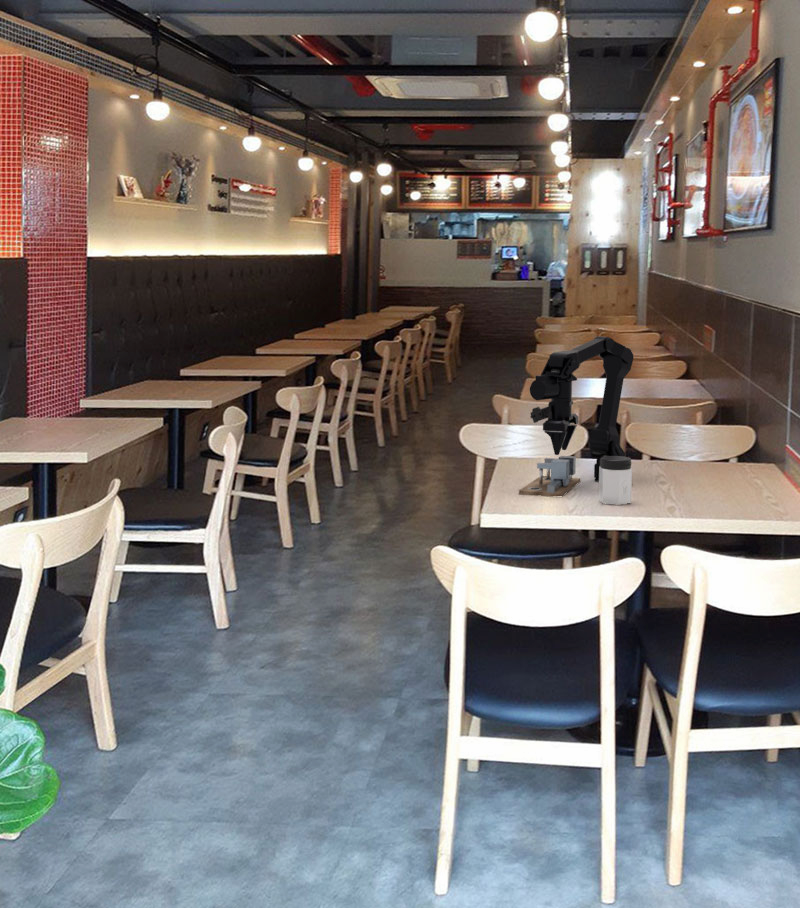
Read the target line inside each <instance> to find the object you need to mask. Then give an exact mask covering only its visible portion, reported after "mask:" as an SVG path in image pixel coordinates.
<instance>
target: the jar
mask: <svg viewBox="0 0 800 908" xmlns="http://www.w3.org/2000/svg"><path fill="white" fill-rule="evenodd" d="M632 479H633V468H632V458H631V457H629V456H625V457H624V456H604V457H601V459H600V467H599V481H598V499H597V500H598V501H599V502H600V503H601V504H602V503H603V504H602V505H609V504H618V505H617V506H620V505H619V504H624V505H628V504H627V503H630V504H631V503H632V487H633V486H632V485H633V484H632V483H633V482H632V481H633V480H632ZM605 503H606V504H605Z"/></svg>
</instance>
